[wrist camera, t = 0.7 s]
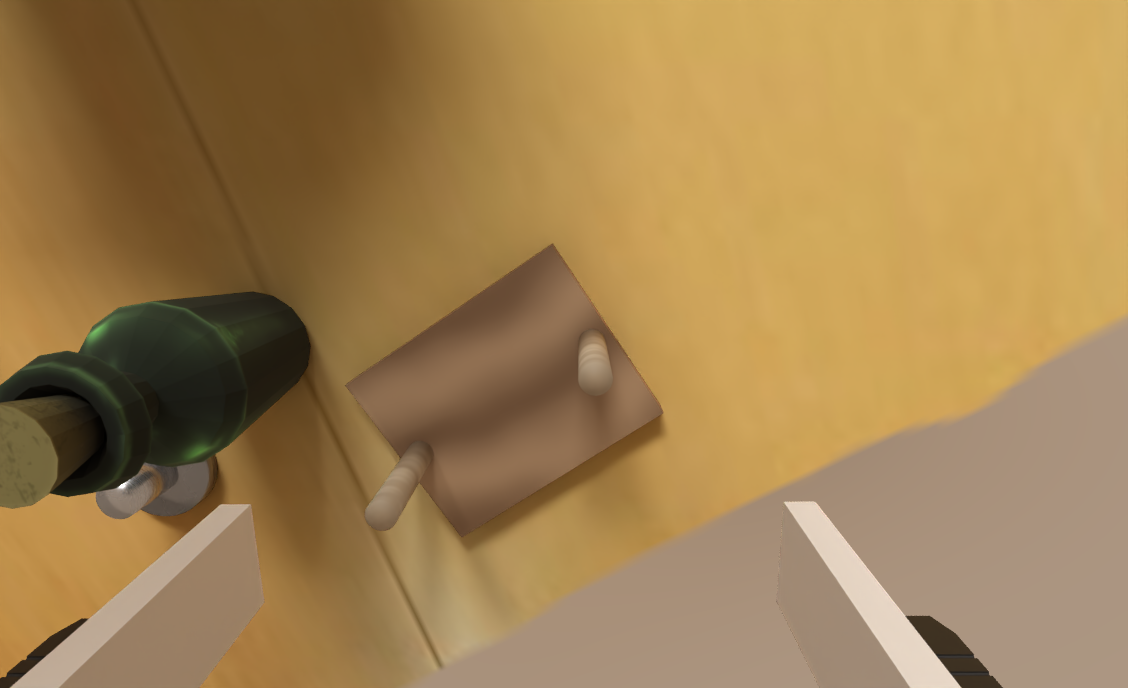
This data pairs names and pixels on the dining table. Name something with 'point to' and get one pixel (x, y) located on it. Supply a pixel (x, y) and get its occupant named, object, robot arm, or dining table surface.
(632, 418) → the rack
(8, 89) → the dining table surface
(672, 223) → the dining table surface
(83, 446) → the potion bottle
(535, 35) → the dining table surface
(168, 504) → the ring nut stud
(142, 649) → the robot arm
